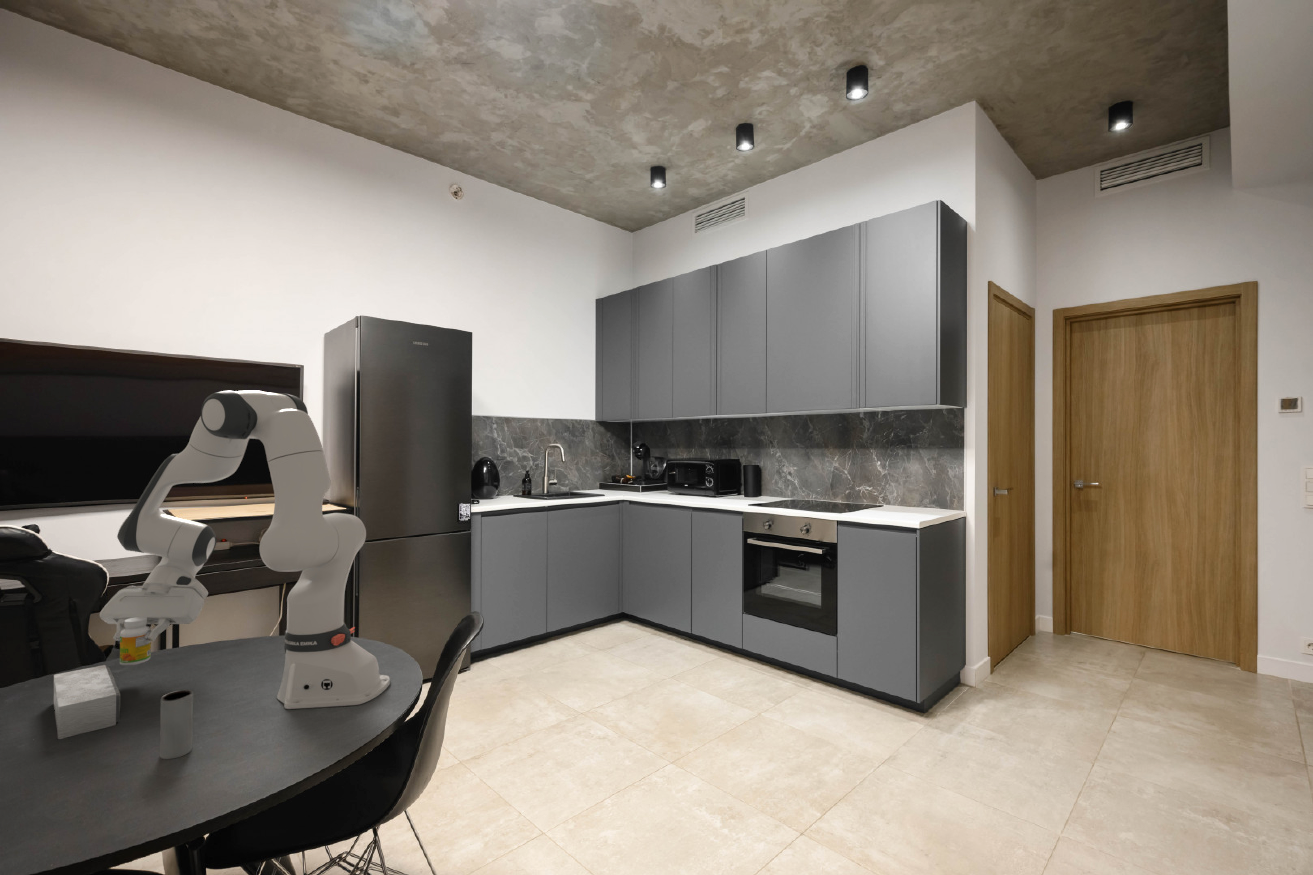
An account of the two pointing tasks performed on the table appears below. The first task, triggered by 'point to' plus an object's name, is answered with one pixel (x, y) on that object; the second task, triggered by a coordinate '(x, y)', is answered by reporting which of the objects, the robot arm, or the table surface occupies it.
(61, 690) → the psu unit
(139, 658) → the supplement bottle
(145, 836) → the table surface
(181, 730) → the planter
